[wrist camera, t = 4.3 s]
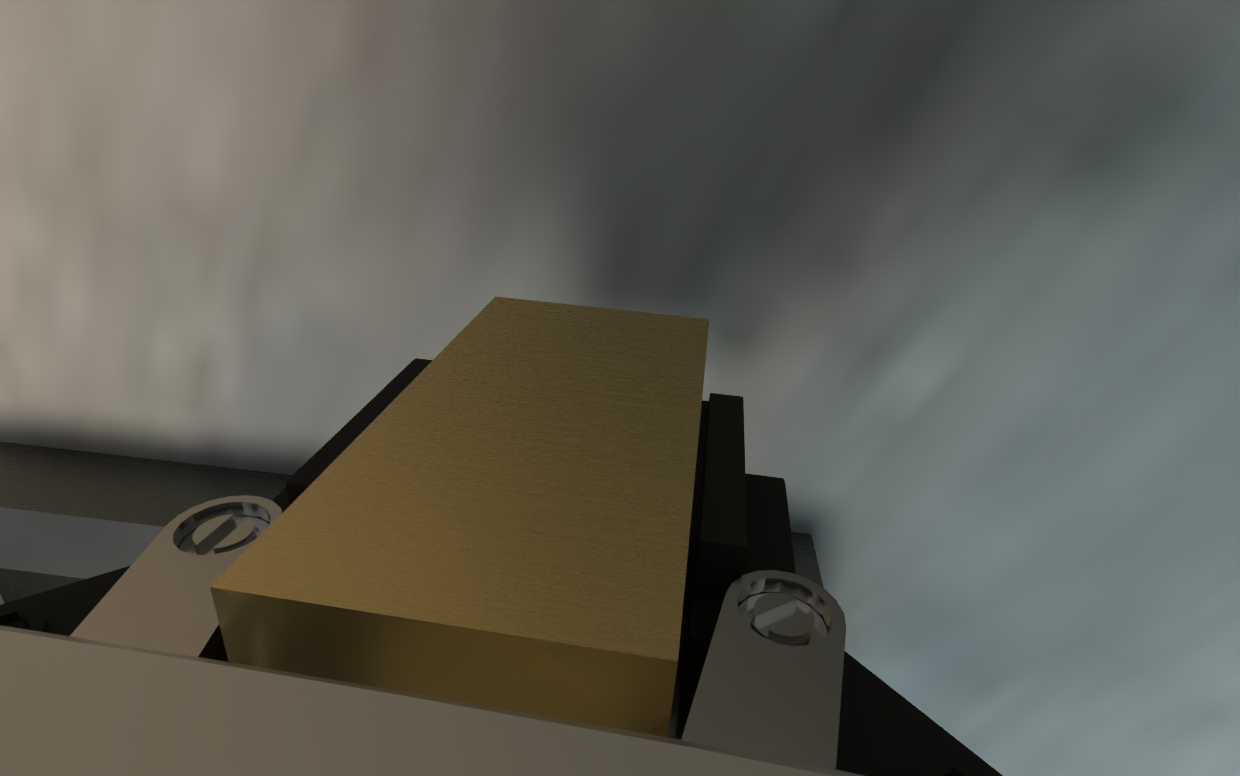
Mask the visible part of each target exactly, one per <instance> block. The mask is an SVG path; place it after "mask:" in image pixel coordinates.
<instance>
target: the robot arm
mask: <svg viewBox="0 0 1240 776" xmlns="http://www.w3.org/2000/svg"><path fill="white" fill-rule="evenodd" d="M432 361H433V360H425V359H417V358H416V359H415V360H413V361H412V362H411V363H410V364H409V365H408V366H407V367H406V368H405V369H404V370H403V371H401V372H400V373H399V374H398V375H397V376H396V377H395V378H394V379H393V380H392V381H391V382H390V383H389V384H388V385H387V386H386V387H385V388H384V389H383V390H382V391H381V392H379V393H378V394H377V395H376V396H375V397H374V398H373V399H372V400H371V401H370V402H369V403H368V404H367V405H366V406H365V407H364V408H363V409H362V410H361V411H360V412H359V413H358V414H356V415H355V416H354V417H353V418H352V419H351V420H350V421H349V422H348V423H347V424H346V425H345V426H344V427H343V428H342V429H341V430H340V431H339V432H338V433H337V434H336V435H335V436H333V437H332V438H331V439H330V440H329V441H328V442H327V443H326V444H325V445H324V446H323V447H322V448H321V449H320V450H319V451H318V452H317V453H316V454H315V455H314V456H313V457H312V458H310V459H309V460H308V461H307V462H306V463H305V464H304V465H303V466H302V467H301V468H300V469H299V470H298V471H297V472H296V473H295V474H294V475H293V476H292V477H291V478H290V479H288V480H287V481H286V482H285V484H286V487H285V488H284V489H283V490H282V491H281V492H280V493H279V494H278V495H277V496H276V497H275V498H274V499H273V500H272V501H271V500H268V499H266V498H263V497H257V496H249V495H243V496H228V497H224V498H219V499H214V500H210V501H207V502H205V503H202V504H199V505H197V506H194V507H192V508H190V509H188V510H187V511H185V512H183V513H181V514H179V515H178V516H176V517H175V518H174V519H173V520H172V521H171V522H170V523H168V524H167V525H166V526H165V527H164V528H163V530H162V531H161V532H160V533H159V534H158V535H157V537H156V538H155V539H154V540H153V541H152V542H151V543H150V545H149V546H148V547H147V548H146V549H145V550H144V551H143V553H142V554H141V555H140V556H139V557H138V558H137V559H136V561H135V562H134V563H133V564H132V565H131V566H127V567H124V568H121V569H118V570H114V571H111V572H108V573H104V574H101V575H98V576H94V577H91V578H88V579H84V580H81V581H78V582H74V583H71V584H68V585H65V586H61V587H58V588H55V589H51V590H48V591H45V592H41V593H38V594H35V595H31V596H28V597H25V598H22V599H18V600H15V601H12V602H8V603H5V604H2V605H0V776H1002V775H1001V774H1000V773H999V772H997V771H996V770H995V769H993V768H992V767H991V766H990V765H988V764H987V763H986V762H985V761H983V760H982V759H981V758H980V757H978V756H977V755H976V754H974V753H973V752H972V751H971V750H969V749H968V748H967V747H966V746H964V745H963V744H962V743H961V742H959V741H958V740H957V739H955V738H954V737H953V736H952V735H950V734H949V733H948V732H947V731H945V730H944V729H943V728H942V727H940V726H939V725H938V724H936V723H935V722H934V721H933V720H931V719H930V718H929V717H928V716H926V715H925V714H924V713H922V712H921V711H920V710H919V709H917V708H916V707H915V706H914V705H912V704H911V703H910V702H909V701H907V700H906V699H905V698H903V697H902V696H901V695H900V694H898V693H897V692H896V691H895V690H893V689H892V688H891V687H890V686H888V685H887V684H886V683H884V682H883V681H882V680H881V679H879V678H878V677H877V676H876V675H874V674H873V673H872V672H871V671H869V670H868V669H867V668H865V667H864V666H863V665H862V664H860V663H859V662H858V661H857V660H855V659H854V658H853V657H851V656H850V655H849V654H848V653H846V652H845V651H844V650H845V636H846V623H845V616H844V613H843V611H842V609H841V607H840V606H839V604H838V602H837V601H836V599H834V598H833V597H832V596H831V595H830V594H829V593H828V592H827V591H826V590H825V589H824V588H822V587H821V586H819V585H818V584H816V583H814V582H813V581H811V580H809V579H807V578H804V577H802V576H799V575H796V570H795V562H794V554H793V545H792V537H791V529H790V520H789V512H788V504H787V495H786V487H785V481H784V479H783V478H776V477H768V476H760V475H753V474H745V447H744V411H743V397H740V396H732V395H723V394H715V393H710V398H709V401H702V405H701V416H700V426H699V437H698V448H697V459H696V470H695V481H694V492H693V503H692V514H691V525H690V535H689V546H688V557H687V568H686V579H685V590H684V601H683V612H682V623H681V633H680V644H679V655H678V665H677V672H676V680H675V687H674V695H673V702H672V710H671V715H673V716H675V723H674V734H673V738H668V737H663V736H657V735H651V734H646V733H640V732H634V731H629V730H623V729H617V728H611V727H606V726H600V725H594V724H589V723H583V722H577V721H572V720H566V719H560V718H554V717H549V716H543V715H537V714H532V713H526V712H520V711H515V710H509V709H503V708H497V707H492V706H486V705H480V704H474V703H468V702H462V701H457V700H451V699H445V698H439V697H433V696H427V695H421V694H415V693H410V692H404V691H398V690H392V689H386V688H380V687H374V686H368V685H363V684H357V683H351V682H345V681H339V680H333V679H327V678H321V677H315V676H309V675H303V674H297V673H291V672H285V671H279V670H273V669H267V668H262V667H255V666H249V665H243V664H237V663H231V662H229V660H228V656H227V652H226V649H225V645H224V641H223V637H222V633H221V629H220V625H219V621H218V617H217V613H216V609H215V605H214V601H213V597H212V593H211V589H210V586H211V585H212V584H213V583H214V582H215V581H216V580H217V579H218V578H219V577H220V576H221V575H222V574H223V573H224V572H225V571H226V570H227V569H228V568H229V567H230V566H231V565H232V564H233V563H234V562H235V561H236V560H237V559H238V558H239V557H240V556H241V555H242V554H243V553H244V552H245V551H246V550H247V549H248V548H249V547H250V546H251V545H252V544H253V543H254V542H255V541H256V540H257V539H258V538H259V537H260V536H261V535H262V534H263V533H264V531H265V530H266V529H267V528H268V527H269V526H270V525H271V524H272V523H273V522H274V521H275V520H276V519H277V518H278V517H279V516H280V515H281V514H282V513H283V512H284V511H285V510H286V509H287V508H288V507H289V506H290V505H291V504H292V503H293V502H294V501H295V500H296V499H297V498H298V497H299V496H300V495H301V494H302V493H303V492H304V491H305V490H306V489H307V488H308V487H309V486H310V485H311V484H312V483H313V482H314V481H315V480H316V479H317V478H318V477H319V476H320V475H321V474H322V472H323V471H324V470H325V469H326V468H327V467H328V466H329V465H330V464H331V463H332V462H333V461H334V460H335V459H336V458H337V457H338V456H339V455H340V454H341V453H342V452H343V451H344V450H345V449H346V448H347V447H348V446H349V445H350V444H351V443H352V442H353V441H354V440H355V439H356V438H357V437H358V436H359V435H360V434H361V433H362V432H363V431H364V430H365V429H366V428H367V427H368V426H369V425H370V424H371V423H372V422H373V421H374V420H375V419H376V418H377V417H378V416H379V414H380V413H381V412H382V411H383V410H384V409H385V408H386V407H387V406H388V405H389V404H390V403H391V402H392V401H393V400H394V399H395V398H396V397H397V396H398V395H399V394H400V393H401V392H402V391H403V390H404V389H405V388H406V387H407V386H408V385H409V384H410V383H411V382H412V381H413V380H414V379H415V378H416V377H417V376H418V375H419V374H420V373H421V372H422V371H423V370H424V369H425V368H426V367H427V366H428V365H429V364H430V363H431V362H432Z"/></svg>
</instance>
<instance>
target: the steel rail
mask: <svg viewBox="0 0 1240 776" xmlns="http://www.w3.org/2000/svg"><path fill="white" fill-rule="evenodd" d="M291 477H292V476H290V475H281V474H272V473H263V472H254V471H246V470H237V469H228V468H219V467H211V466H202V465H193V464H184V463H176V462H167V461H158V460H149V459H140V458H132V457H123V456H114V455H105V454H97V453H88V452H79V451H70V450H61V449H53V448H44V447H35V446H26V445H18V444H9V443H0V605H2V604H5V603H8V602H12V601H15V600H18V599H22V598H25V597H28V596H31V595H35V594H38V593H41V592H45V591H48V590H51V589H55V588H58V587H61V586H65V585H68V584H71V583H74V582H78V581H81V580H84V579H88V578H91V577H94V576H98V575H101V574H104V573H108V572H111V571H114V570H118V569H121V568H124V567H127V566H131V565H132V564H133V563H134V562H135V561H136V559H137V558H138V557H139V556H140V555H141V554H142V553H143V551H144V550H145V549H146V548H147V547H148V546H149V545H150V543H151V542H152V541H153V540H154V539H155V538H156V537H157V535H158V534H159V533H160V532H161V531H162V530H163V528H164V527H165V526H166V525H167V524H168V523H170V522H171V521H172V520H173V519H174V518H175V517H176V516H178V515H179V514H181V513H183V512H185V511H187V510H188V509H190V508H192V507H194V506H197V505H199V504H202V503H205V502H207V501H210V500H214V499H219V498H224V497H228V496H243V495H249V496H257V497H263V498H266V499H268V500H271V501H272V500H273V499H274V498H275V497H276V496H277V495H278V494H279V493H280V492H281V491H282V490H283V489H284V488H285V487H286V484H285V482H286V481H287V480H288V479H290V478H291ZM791 537H792V545H793V554H794V562H795V570H796V575H799V576H802V577H804V578H807V579H809V580H811V581H813V582H814V583H816V584H818V585H819V586H821V587H822V588H823V584H822V580H821V575H820V571H819V566H818V562H817V558H816V553H815V549H814V544H813V540H812V536H811V535H807V534H798V533H791ZM674 723H675V716H673V715H671V717H670V725H669V732H668V738H673V734H674Z"/></svg>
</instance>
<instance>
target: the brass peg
mask: <svg viewBox="0 0 1240 776" xmlns="http://www.w3.org/2000/svg"><path fill="white" fill-rule="evenodd" d="M708 328H709V319H700V318H690V317H681V316H672V315H662V314H653V313H644V312H634V311H625V310H616V309H606V308H597V307H588V306H578V305H569V304H560V303H551V302H541V301H532V300H523V299H513V298H504V297H494V299H493V300H492V301H491V302H490V303H489V304H488V305H487V306H486V307H485V308H484V309H483V310H482V311H481V312H480V313H479V314H478V315H477V316H476V317H475V318H474V319H473V320H472V321H471V322H470V323H469V324H468V325H467V326H466V327H465V328H464V329H463V330H462V331H461V332H460V333H459V334H458V335H457V336H456V337H455V338H454V339H453V340H452V341H451V342H450V343H449V344H448V345H447V346H446V347H445V348H444V349H443V350H442V351H441V352H440V353H439V354H438V355H437V357H436V358H435V359H434V360H433V361H432V362H431V363H430V364H429V365H428V366H427V367H426V368H425V369H424V370H423V371H422V372H421V373H420V374H419V375H418V376H417V377H416V378H415V379H414V380H413V381H412V382H411V383H410V384H409V385H408V386H407V387H406V388H405V389H404V390H403V391H402V392H401V393H400V394H399V395H398V396H397V397H396V398H395V399H394V400H393V401H392V402H391V403H390V404H389V405H388V406H387V407H386V408H385V409H384V410H383V411H382V412H381V413H380V414H379V416H378V417H377V418H376V419H375V420H374V421H373V422H372V423H371V424H370V425H369V426H368V427H367V428H366V429H365V430H364V431H363V432H362V433H361V434H360V435H359V436H358V437H357V438H356V439H355V440H354V441H353V442H352V443H351V444H350V445H349V446H348V447H347V448H346V449H345V450H344V451H343V452H342V453H341V454H340V455H339V456H338V457H337V458H336V459H335V460H334V461H333V462H332V463H331V464H330V465H329V466H328V467H327V468H326V469H325V470H324V471H323V472H322V474H321V475H320V476H319V477H318V478H317V479H316V480H315V481H314V482H313V483H312V484H311V485H310V486H309V487H308V488H307V489H306V490H305V491H304V492H303V493H302V494H301V495H300V496H299V497H298V498H297V499H296V500H295V501H294V502H293V503H292V504H291V505H290V506H289V507H288V508H287V509H286V510H285V511H284V512H283V513H282V514H281V515H280V516H279V517H278V518H277V519H276V520H275V521H274V522H273V523H272V524H271V525H270V526H269V527H268V528H267V529H266V530H265V531H264V533H263V534H262V535H261V536H260V537H259V538H258V539H257V540H256V541H255V542H254V543H253V544H252V545H251V546H250V547H249V548H248V549H247V550H246V551H245V552H244V553H243V554H242V555H241V556H240V557H239V558H238V559H237V560H236V561H235V562H234V563H233V564H232V565H231V566H230V567H229V568H228V569H227V570H226V571H225V572H224V573H223V574H222V575H221V576H220V577H219V578H218V579H217V580H216V581H215V582H214V583H213V584H212V585H211V586H210V589H211V593H212V597H213V601H214V605H215V609H216V613H217V617H218V621H219V625H220V629H221V633H222V637H223V641H224V645H225V649H226V652H227V656H228V660H229V662H231V663H237V664H243V665H249V666H255V667H262V668H267V669H273V670H279V671H285V672H291V673H297V674H303V675H309V676H315V677H321V678H327V679H333V680H339V681H345V682H351V683H357V684H363V685H368V686H374V687H380V688H386V689H392V690H398V691H404V692H410V693H415V694H421V695H427V696H433V697H439V698H445V699H451V700H457V701H462V702H468V703H474V704H480V705H486V706H492V707H497V708H503V709H509V710H515V711H520V712H526V713H532V714H537V715H543V716H549V717H554V718H560V719H566V720H572V721H577V722H583V723H589V724H594V725H600V726H606V727H611V728H617V729H623V730H629V731H634V732H640V733H646V734H651V735H657V736H663V737H668V732H669V725H670V717H671V710H672V702H673V695H674V687H675V680H676V672H677V665H678V655H679V644H680V633H681V623H682V612H683V601H684V590H685V579H686V568H687V557H688V546H689V535H690V525H691V514H692V503H693V492H694V481H695V470H696V459H697V448H698V437H699V426H700V416H701V405H702V394H703V383H704V372H705V361H706V350H707V339H708Z"/></svg>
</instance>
